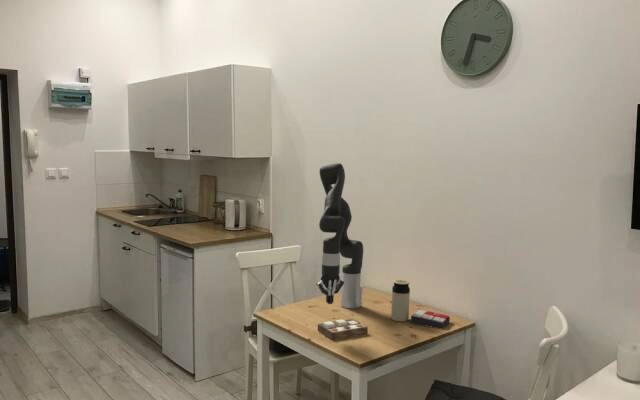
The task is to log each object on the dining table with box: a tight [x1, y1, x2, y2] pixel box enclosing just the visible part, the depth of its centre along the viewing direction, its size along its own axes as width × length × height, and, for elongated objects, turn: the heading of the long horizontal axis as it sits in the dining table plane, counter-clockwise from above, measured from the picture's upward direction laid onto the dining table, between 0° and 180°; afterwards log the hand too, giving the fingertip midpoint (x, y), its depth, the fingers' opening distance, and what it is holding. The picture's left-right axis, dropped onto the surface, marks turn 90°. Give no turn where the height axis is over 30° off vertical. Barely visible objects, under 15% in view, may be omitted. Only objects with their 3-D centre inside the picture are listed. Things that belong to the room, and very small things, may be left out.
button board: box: [317, 318, 369, 341], centre depth 228 cm, size 18×12×3 cm
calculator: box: [410, 309, 451, 330], centre depth 244 cm, size 11×4×15 cm
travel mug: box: [390, 279, 411, 323], centre depth 247 cm, size 8×8×18 cm
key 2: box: [347, 320, 359, 325], centre depth 232 cm, size 4×4×2 cm
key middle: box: [334, 319, 347, 327], centre depth 229 cm, size 4×4×2 cm
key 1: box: [322, 320, 335, 329], centre depth 226 cm, size 4×4×2 cm
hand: (329, 303), depth 225 cm, fingers closed
